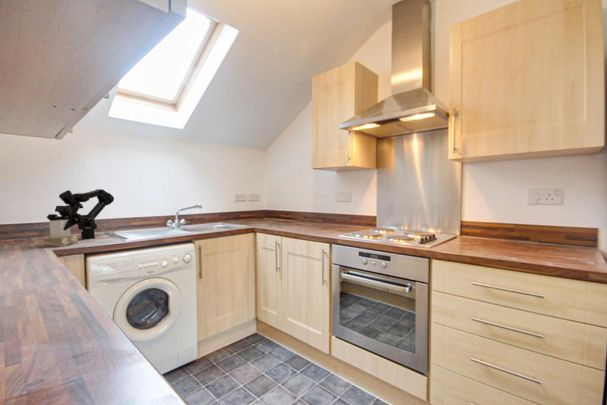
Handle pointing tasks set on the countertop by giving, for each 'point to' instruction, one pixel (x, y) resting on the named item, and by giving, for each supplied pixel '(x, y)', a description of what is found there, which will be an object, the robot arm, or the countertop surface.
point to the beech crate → (59, 241)
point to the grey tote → (59, 229)
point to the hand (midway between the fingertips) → (58, 229)
